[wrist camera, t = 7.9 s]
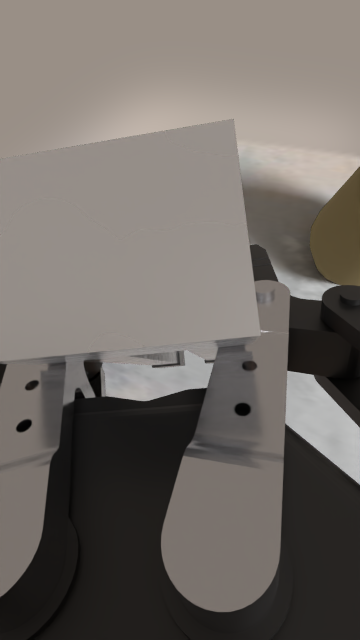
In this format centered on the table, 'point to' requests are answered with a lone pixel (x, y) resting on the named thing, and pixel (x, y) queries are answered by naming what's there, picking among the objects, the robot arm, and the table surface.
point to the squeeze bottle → (339, 235)
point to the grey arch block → (126, 251)
